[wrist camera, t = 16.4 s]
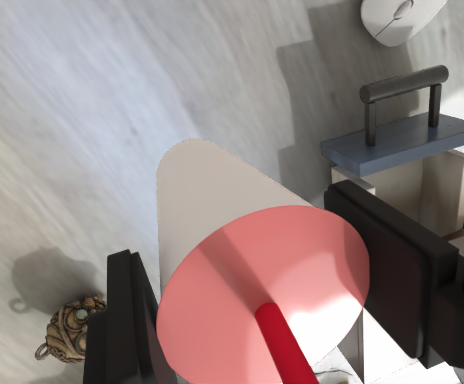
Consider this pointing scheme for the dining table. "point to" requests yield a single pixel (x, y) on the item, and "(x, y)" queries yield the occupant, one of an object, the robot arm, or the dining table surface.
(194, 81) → the dining table surface
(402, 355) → the drawer cabinet
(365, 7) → the computer mouse
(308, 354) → the cup
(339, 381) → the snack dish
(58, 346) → the pendant
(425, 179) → the drawer
